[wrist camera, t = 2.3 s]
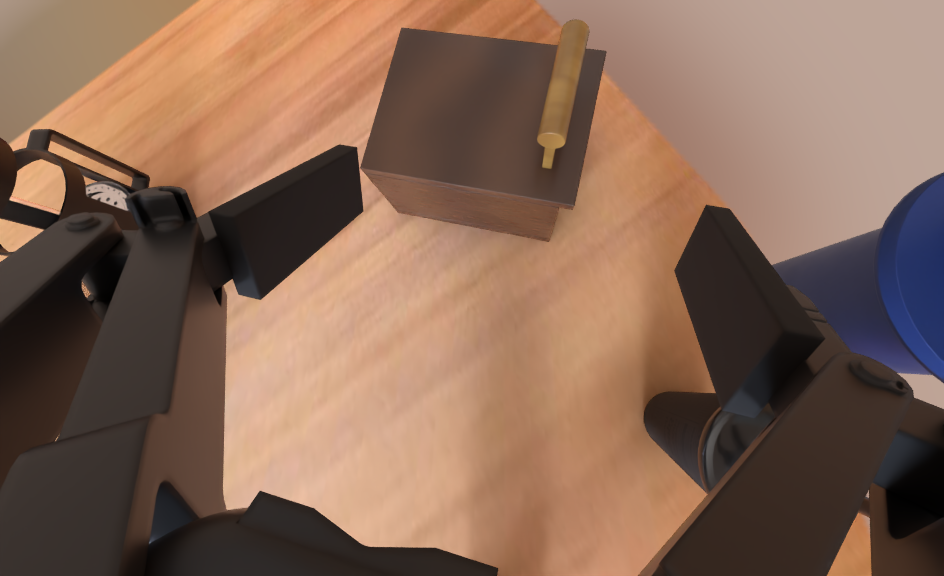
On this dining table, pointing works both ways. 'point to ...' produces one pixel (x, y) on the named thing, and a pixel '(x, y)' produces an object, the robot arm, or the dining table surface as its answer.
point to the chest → (468, 207)
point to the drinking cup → (705, 434)
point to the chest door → (488, 114)
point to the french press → (78, 197)
